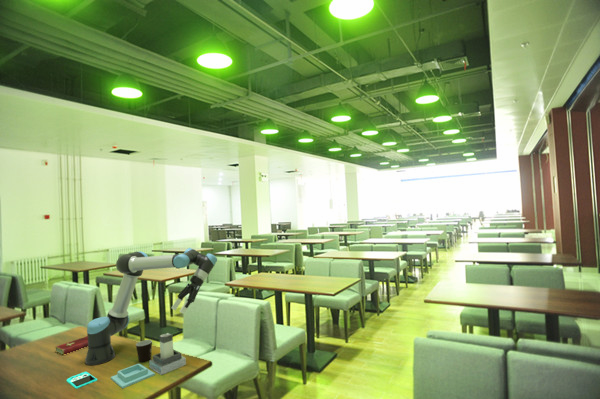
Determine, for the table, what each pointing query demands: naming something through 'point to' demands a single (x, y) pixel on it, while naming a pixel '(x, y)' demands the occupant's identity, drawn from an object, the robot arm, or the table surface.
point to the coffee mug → (144, 350)
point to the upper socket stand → (167, 362)
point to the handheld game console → (81, 380)
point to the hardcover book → (72, 345)
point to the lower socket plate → (132, 375)
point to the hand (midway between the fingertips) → (177, 311)
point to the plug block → (166, 345)
